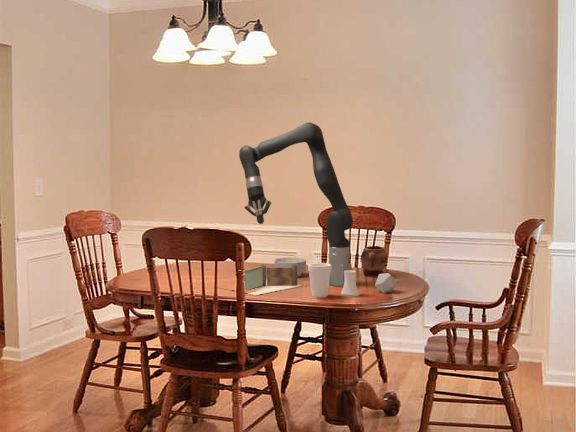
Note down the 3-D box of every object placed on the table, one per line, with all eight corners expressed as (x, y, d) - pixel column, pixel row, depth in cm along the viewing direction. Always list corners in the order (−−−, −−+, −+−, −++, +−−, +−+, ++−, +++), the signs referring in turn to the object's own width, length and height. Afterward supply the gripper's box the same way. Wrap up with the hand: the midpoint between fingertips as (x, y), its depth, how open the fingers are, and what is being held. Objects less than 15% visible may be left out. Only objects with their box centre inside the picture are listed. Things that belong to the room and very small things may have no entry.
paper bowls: (306, 278, 326) (306, 261, 325) (274, 278, 326) (273, 262, 325) (306, 273, 341) (306, 257, 340) (275, 273, 341) (275, 257, 340)
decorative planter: (384, 280, 320) (385, 250, 318) (358, 279, 322) (358, 249, 321) (387, 272, 339) (387, 244, 338) (362, 272, 341) (362, 244, 340)
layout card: (302, 286, 307) (302, 285, 307) (255, 295, 287) (255, 294, 287) (262, 279, 325) (262, 278, 325) (216, 287, 306) (216, 286, 306)
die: (387, 290, 299) (374, 273, 298) (403, 282, 294) (389, 265, 293) (382, 300, 293) (368, 283, 292) (397, 293, 288) (383, 275, 286)
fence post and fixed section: (297, 284, 309) (297, 264, 308) (297, 285, 306) (297, 265, 305) (260, 285, 309) (260, 264, 308) (260, 286, 306) (260, 265, 305)
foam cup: (312, 298, 281) (311, 267, 279) (305, 294, 289) (305, 263, 288) (334, 297, 283) (334, 265, 282) (327, 293, 292) (326, 262, 291)
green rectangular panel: (260, 285, 306) (259, 265, 306) (263, 285, 306) (262, 266, 305) (244, 290, 295) (243, 270, 294) (247, 290, 294) (246, 270, 293)
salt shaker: (362, 294, 288) (362, 270, 287) (351, 297, 282) (351, 273, 282) (348, 292, 293) (348, 269, 292) (337, 295, 287) (337, 271, 287)
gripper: (238, 189, 318) (245, 225, 314) (266, 182, 315) (272, 218, 311) (243, 192, 325) (250, 228, 321) (270, 186, 323) (277, 221, 319)
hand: (261, 223), depth 316 cm, fingers closed
